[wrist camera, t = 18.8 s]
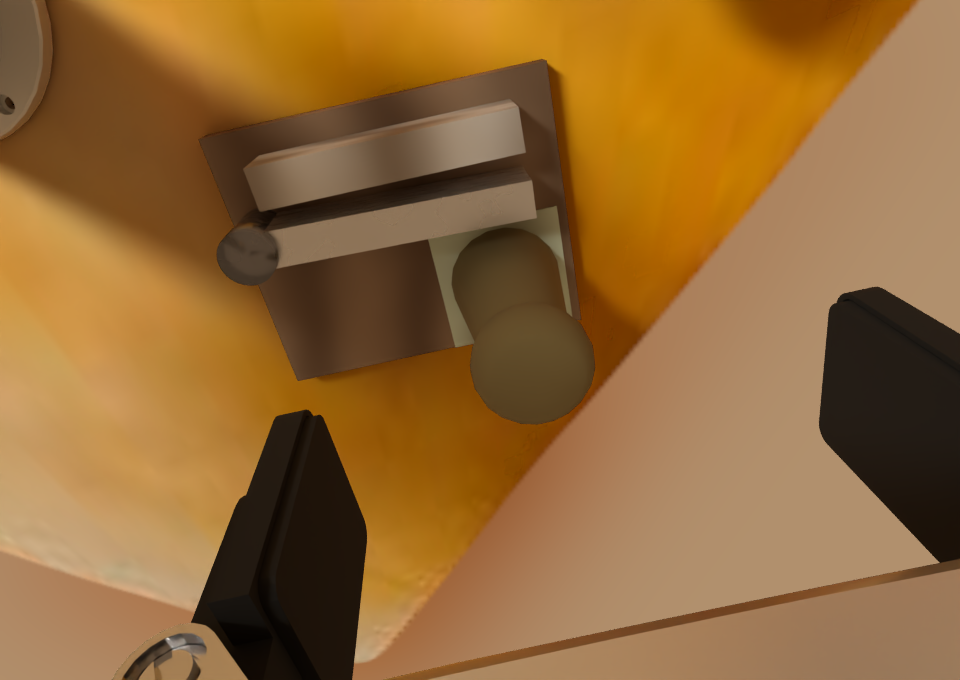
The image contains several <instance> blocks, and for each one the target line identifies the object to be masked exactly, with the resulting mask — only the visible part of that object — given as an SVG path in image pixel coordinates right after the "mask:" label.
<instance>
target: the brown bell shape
mask: <svg viewBox="0 0 960 680" xmlns="http://www.w3.org/2000/svg"><path fill="white" fill-rule="evenodd" d="M451 285H452V289H453V293H454V297H455V300H456V302H457V305H458V307H459V309H460V311H461V313H462V316H463V318H464V320H465V322H466V324H467V326H468V329H469V331H470V333H471V335H472V337H473V340H474V345H473V347H472V354H471V362H470V369H471V375H472V379H473V383H474V387H475V389H476V391H477V392H478V394H479V395H480V397H481V398H482V400H483V401H484V402H485V404H486V405H487V407H488V408H489V409H491V410H492V411H494V412H495V413H496V414H498V415H499V416H501V417H502V418H505V419H508V420H511V421H514V422H517V423H521V424H542V423H546V422H551V421H554V420H556V419H558V418H560V417H562V416H564V415H566V414H568V413H569V412H570V411H571V410H572V409H574V408H575V407H576V406H577V405H578V404H579V403H580V402H581V401H582V399H583V398H584V396H585V394H586V393H587V391H588V389H589V388H590V386H591V384H592V380H593V375H594V371H595V360H594V353H593V345H592V343H591V342H590V340H589V338H588V336H587V334H586V333H585V331H584V329H583V327H582V325H581V324H580V323H579V322H578V321H576V320H575V319H574V318H573V317H572V316H571V315H569V314H568V313H567V311H566V306H565V300H564V295H563V289H562V284H561V279H560V273H559V268H558V262H557V259H556V257H555V256H554V254H553V252H552V250H551V248H550V246H548V245H547V244H546V243H545V242H544V241H543V240H542V239H541V238H540V237H538V236H537V235H535V234H533V233H530V232H528V231H525V230H523V229H517V228H500V229H495V230H491V231H487V232H485V233H483V234H482V235H480V236H478V237H476V238H475V239H473V240H471V241H470V242H469V244H468V245H467V246H466V247H465V248H464V249H463V250H462V251H461V252H460V254H459V256H458V258H457V260H456V263H455V265H454V267H453V272H452V283H451Z"/></svg>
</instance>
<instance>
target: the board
mask: <svg viewBox="0 0 960 680" xmlns="http://www.w3.org/2000/svg"><path fill="white" fill-rule="evenodd" d="M198 140H199V142H200V145H201V147H202V149H203V152H204V154H205V157H206V159H207V162H208V164H209V166H210V169H211V171H212V174H213V176H214V179H215V181H216V183H217V186H218V188H219V191H220V193H221V196H222V198H223V200H224V203H225V205H226V208H227V210H228V213H229V215H230V217H231V220H232V222H233V225H234V227H235V225H236V224H237V223H238V222H239V221H240V220H241V219H242V218H243V217H244V215H245V214H247V213H248V212H249V211H251V210H254V209H259V211H260V212H262V211H267V210H273V211H275V212H277V213H279V212H284V211H289V210H294V209H300V208H305V207H310V206H315V205H320V204H325V203H330V202H336V201H341V200H346V199H351V198H356V197H361V196H366V195H372V194H377V193H382V192H387V191H392V190H397V189H403V188H408V187H413V186H418V185H423V184H428V183H433V182H439V181H444V180H449V179H454V178H459V177H464V176H469V175H475V174H480V173H485V172H490V171H495V170H500V169H505V168H511V167H516V166H521V165H522V166H523V168H524V169H525V171H526V172H527V174H528V175H529V177H530V178H531V180H532V184H533V192H534V200H535V207H536V215H537V218H535V219H529V220H524V221H519V222H514V223H509V224H504V225H498V226H493V227H488V228H483V229H478V230H473V231H467V232H462V233H457V234H452V235H447V236H442V237H436V238H431V239H426V240H421V241H416V242H411V243H405V244H400V245H395V246H390V247H385V248H380V249H375V250H369V251H364V252H359V253H354V254H349V255H344V256H338V257H333V258H328V259H323V260H318V261H313V262H307V263H302V264H297V265H292V266H287V267H282V268H276V269H275V271H274V273H273V274H272V276H271V277H270V278H269V279H268V280H267V281H265V282H263V283H261V284H258V285H259V288H260V290H261V293H262V295H263V298H264V300H265V302H266V305H267V307H268V310H269V312H270V315H271V317H272V319H273V322H274V324H275V327H276V329H277V332H278V334H279V336H280V339H281V341H282V344H283V346H284V349H285V351H286V353H287V356H288V358H289V361H290V363H291V366H292V368H293V370H294V373H295V375H296V378H297V380H298V381H300V380H305V379H310V378H314V377H319V376H323V375H328V374H333V373H337V372H342V371H347V370H351V369H356V368H360V367H365V366H370V365H374V364H379V363H383V362H388V361H393V360H397V359H402V358H406V357H411V356H416V355H420V354H425V353H429V352H434V351H439V350H443V349H448V348H452V347H461V346H465V345H470V344H474V340H473V337H472V335H471V333H470V331H469V329H468V326H467V324H466V322H465V320H464V318H463V316H462V313H461V311H460V309H459V307H458V305H457V302H456V300H455V297H454V293H453V289H452V285H451V283H452V272H453V267H454V265H455V263H456V260H457V258H458V256H459V254H460V252H461V251H462V250H463V249H464V248H465V247H466V246H467V245H468V244H469V242H470V241H471V240H473V239H475V238H476V237H478V236H480V235H482V234H483V233H485V232H487V231H491V230H495V229H500V228H517V229H523V230H525V231H528V232H530V233H533V234H535V235H537V236H538V237H540V238H541V239H542V240H543V241H544V242H545V243H546V244H547V245H548V246H550V248H551V250H552V252H553V254H554V256H555V257H556V259H557V262H558V268H559V273H560V279H561V284H562V289H563V295H564V300H565V306H566V311H567V313H568V314H569V315H571V316H572V317H573V318H574V319H575V320H576V321H577V320H581V315H580V307H579V300H578V292H577V285H576V277H575V270H574V262H573V255H572V247H571V240H570V232H569V225H568V218H567V210H566V203H565V195H564V188H563V180H562V173H561V165H560V158H559V150H558V143H557V135H556V128H555V120H554V113H553V105H552V98H551V90H550V83H549V75H548V68H547V61H546V60H543V59H541V60H536V61H532V62H527V63H523V64H518V65H514V66H510V67H505V68H501V69H496V70H492V71H488V72H483V73H479V74H474V75H470V76H466V77H461V78H457V79H452V80H448V81H443V82H439V83H435V84H430V85H426V86H421V87H417V88H413V89H408V90H404V91H399V92H395V93H390V94H386V95H382V96H377V97H373V98H368V99H364V100H360V101H355V102H351V103H346V104H342V105H338V106H333V107H329V108H324V109H320V110H315V111H311V112H307V113H302V114H298V115H293V116H289V117H285V118H280V119H276V120H271V121H267V122H263V123H258V124H254V125H249V126H245V127H240V128H236V129H232V130H227V131H223V132H218V133H214V134H210V135H206V136H204V137H202V138H200V139H198Z"/></svg>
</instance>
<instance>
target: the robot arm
mask: <svg viewBox="0 0 960 680" xmlns="http://www.w3.org/2000/svg"><path fill="white" fill-rule="evenodd" d="M52 57H53V44H52V32H51V22H50V18H49V14H48V10H47V6H46V3H45V0H0V140H1V139H3V138H6V137H8V136H10V135H12V134H13V133H14V132H15V131H16V130H17V129H19V128H20V127H21V126H22V125H23V124H24V123H26V122H27V121H28V120H29V119H30V117H31V116H32V114H33V113H34V111H35V110H36V108H37V107H38V105H39V104H40V103H41V101H42V98H43V96H44V93H45V90H46V87H47V85H48V82H49V79H50V73H51V65H52ZM11 100H12V101H13V102H14V106H13V104H12V103H11ZM819 428H820V432H821V434H822V437H823V439H824V440H825V442H826V443H827V444H828V445H829V446H830V447H831V449H832V450H833V451H834V452H835V453H836V454H837V455H838V456H839V457H840V458H841V459H842V460H843V461H844V462H845V463H846V464H847V465H848V466H849V467H850V469H851V470H852V471H853V472H854V473H855V474H856V475H857V476H858V477H859V478H860V479H861V480H862V481H863V482H864V483H865V484H866V485H867V486H868V487H869V489H870V490H871V491H872V492H873V493H874V494H875V495H876V496H877V497H878V498H879V499H880V500H881V501H882V502H883V503H884V504H885V505H886V506H887V508H889V510H890V511H891V512H892V513H893V514H894V515H895V516H896V517H897V518H898V519H899V520H900V521H901V522H902V523H903V524H904V525H905V527H906V528H907V529H908V530H909V531H910V532H911V533H912V534H913V535H914V536H915V537H916V538H917V539H918V540H919V541H920V542H921V543H922V544H923V546H925V548H926V549H927V550H928V551H929V552H930V553H931V554H932V555H933V556H934V557H935V558H936V559H937V560H938V561H939V562H940V563H938V564H933V565H928V566H923V567H918V568H913V569H908V570H903V571H898V572H893V573H888V574H883V575H879V576H873V577H868V578H863V579H858V580H853V581H848V582H843V583H838V584H833V585H828V586H823V587H818V588H813V589H808V590H803V591H798V592H793V593H788V594H784V595H779V596H774V597H769V598H764V599H760V600H754V601H749V602H745V603H740V604H735V605H730V606H725V607H720V608H715V609H711V610H706V611H701V612H696V613H692V614H686V615H682V616H677V617H672V618H667V619H662V620H657V621H653V622H648V623H643V624H638V625H633V626H629V627H624V628H619V629H614V630H609V631H605V632H600V633H595V634H591V635H586V636H581V637H576V638H572V639H567V640H562V641H557V642H553V643H548V644H543V645H539V646H534V647H529V648H524V649H520V650H516V651H510V652H506V653H501V654H496V655H491V656H487V657H482V658H477V659H473V660H468V661H464V662H458V663H454V664H450V665H445V666H441V667H437V668H432V669H428V670H424V671H419V672H415V673H410V674H406V675H402V676H397V677H393V678H389V679H384V680H960V334H959V333H957V332H955V331H954V330H952V329H951V328H949V327H947V326H945V325H944V324H942V323H940V322H938V321H937V320H935V319H934V318H932V317H930V316H929V315H927V314H925V313H923V312H922V311H920V310H918V309H916V308H915V307H913V306H912V305H910V304H908V303H906V302H905V301H903V300H901V299H900V298H898V297H896V296H895V295H893V294H891V293H889V292H888V291H886V290H884V289H882V288H880V287H872V288H867V289H862V290H858V291H854V292H849V293H844V294H842V295H841V296H840V297H839V298H838V300H837V303H835V304H833V305H832V306H831V307H830V310H829V317H828V327H827V338H826V350H825V361H824V373H823V383H822V395H821V406H820V417H819ZM366 545H367V530H366V525H365V521H364V518H363V515H362V513H361V510H360V508H359V505H358V503H357V500H356V498H355V495H354V493H353V490H352V488H351V486H350V483H349V481H348V478H347V476H346V473H345V471H344V468H343V466H342V463H341V461H340V458H339V456H338V453H337V451H336V448H335V446H334V443H333V441H332V438H331V436H330V433H329V431H328V428H327V426H326V423H325V421H324V419H323V417H322V416H321V415H317V416H313V415H312V413H311V412H310V411H309V410H302V411H298V412H293V413H289V414H284V415H279V416H277V417H276V418H275V419H274V421H273V424H272V427H271V429H270V432H269V435H268V438H267V440H266V443H265V446H264V448H263V451H262V454H261V456H260V459H259V462H258V465H257V467H256V470H255V473H254V475H253V478H252V481H251V484H250V486H249V489H248V492H247V494H246V496H243V497H242V498H240V499H239V501H238V503H237V505H236V507H235V509H234V512H233V514H232V517H231V520H230V522H229V525H228V527H227V530H226V533H225V535H224V538H223V541H222V543H221V546H220V548H219V551H218V554H217V556H216V559H215V561H214V564H213V567H212V569H211V572H210V574H209V577H208V580H207V582H206V585H205V588H204V590H203V593H202V595H201V598H200V601H199V603H198V606H197V608H196V611H195V614H194V616H193V619H192V621H191V623H189V624H182V625H177V626H174V627H172V628H169V629H167V630H164V631H162V632H160V633H159V634H157V635H155V636H154V637H152V638H150V639H149V640H147V641H146V642H144V643H143V644H142V645H141V646H140V647H139V648H137V649H136V650H135V651H134V652H133V653H132V654H131V655H130V656H129V657H128V658H127V659H126V660H125V662H124V663H123V664H122V665H121V667H120V668H119V669H118V670H117V671H116V673H115V675H114V677H113V679H112V680H352V676H353V666H354V657H355V648H356V638H357V629H358V620H359V610H360V601H361V592H362V582H363V573H364V563H365V554H366Z"/></svg>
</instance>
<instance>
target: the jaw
mask: <svg viewBox="0 0 960 680" xmlns="http://www.w3.org/2000/svg"><path fill="white" fill-rule="evenodd" d="M535 218H537V215H536V207H535V200H534V192H533V184H532V180H531V178H530V177H529V175H528V174H527V172H526V171H525V169H524V168H523V166H522V165H521V166H516V167H511V168H505V169H500V170H495V171H490V172H485V173H480V174H475V175H469V176H464V177H459V178H454V179H449V180H444V181H439V182H433V183H428V184H423V185H418V186H413V187H408V188H403V189H397V190H392V191H387V192H382V193H377V194H372V195H366V196H361V197H356V198H351V199H346V200H341V201H336V202H330V203H325V204H320V205H315V206H310V207H305V208H300V209H294V210H289V211H284V212H279V213H277V212H275V211H273V210H267V211H262V212H260V211H259V209H254V210H251V211H249V212H248V213H247V214H245V215H244V217H243V218H242V219H241V220H240V221H239V222H238V223H237V224H236V225H235V227H234V228H233V229H232V230H231V231H230V232H229V233H228V234H227V235H226V236H225V238H224V239H223V240H222V241H221V242H220V244H219V246H218V249H217V260H218V264H219V266H220V268H221V270H222V271H223V272H224V274H225V275H226V276H227V277H229V278H230V279H231V280H233V281H235V282H237V283H239V284H243V285H258V284H261V283H263V282H265V281H267V280H268V279H269V278H270V277H271V276H272V274H273V273H274V271H275V269H276V268H282V267H287V266H292V265H297V264H302V263H307V262H313V261H318V260H323V259H328V258H333V257H338V256H344V255H349V254H354V253H359V252H364V251H369V250H375V249H380V248H385V247H390V246H395V245H400V244H405V243H411V242H416V241H421V240H426V239H431V238H436V237H442V236H447V235H452V234H457V233H462V232H467V231H473V230H478V229H483V228H488V227H493V226H498V225H504V224H509V223H514V222H519V221H524V220H529V219H535Z"/></svg>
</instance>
